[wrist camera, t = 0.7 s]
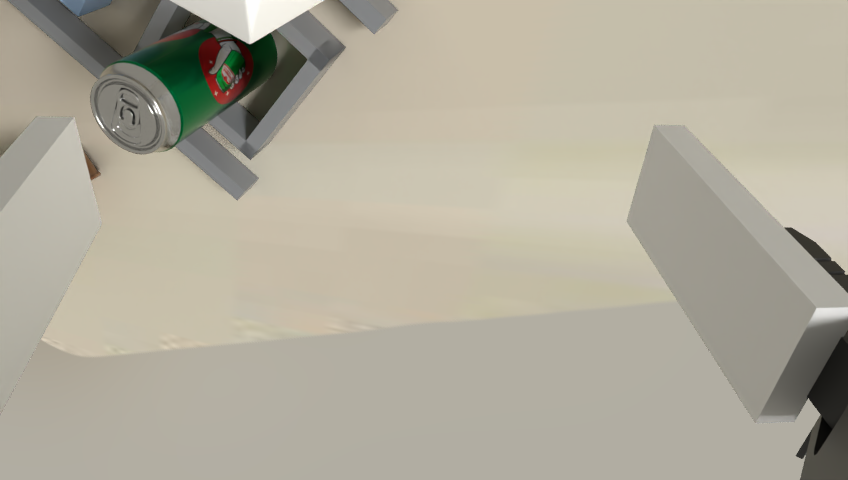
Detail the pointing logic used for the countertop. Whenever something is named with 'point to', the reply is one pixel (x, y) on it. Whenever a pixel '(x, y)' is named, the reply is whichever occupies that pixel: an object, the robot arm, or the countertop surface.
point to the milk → (247, 14)
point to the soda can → (178, 86)
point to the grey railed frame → (235, 121)
